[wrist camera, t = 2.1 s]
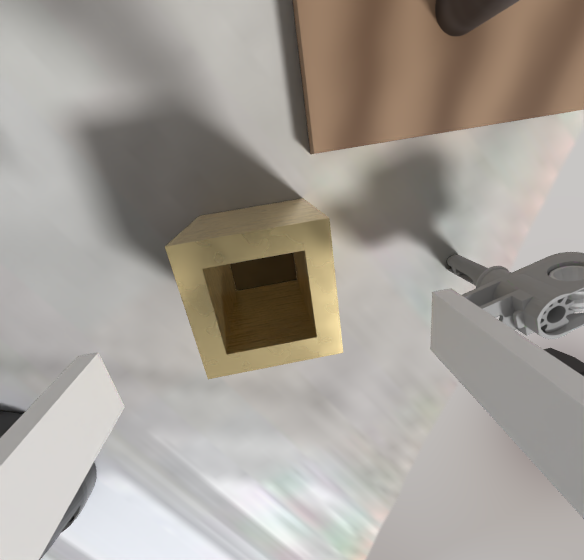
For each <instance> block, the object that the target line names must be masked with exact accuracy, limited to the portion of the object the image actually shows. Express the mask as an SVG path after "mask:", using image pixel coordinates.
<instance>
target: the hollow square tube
mask: <svg viewBox="0 0 584 560" xmlns="http://www.w3.org/2000/svg"><path fill="white" fill-rule="evenodd" d="M165 249H166V252H167V255H168V258H169V261H170V264H171V267H172V270H173V273H174V276H175V279H176V283H177V286H178V289H179V292H180V295H181V298H182V301H183V304H184V307H185V310H186V313H187V316H188V319H189V322H190V325H191V328H192V331H193V335H194V338H195V341H196V344H197V347H198V350H199V353H200V356H201V359H202V362H203V365H204V368H205V371H206V374H207V377H208V379H212V378H217V377H222V376H227V375H232V374H237V373H242V372H247V371H252V370H257V369H262V368H268V367H273V366H278V365H283V364H288V363H293V362H298V361H303V360H308V359H313V358H319V357H324V356H329V355H334V354H339V353H343V347H342V337H341V327H340V318H339V308H338V298H337V288H336V279H335V269H334V259H333V250H332V240H331V230H330V220H329V217H327V216H326V215H325V214H323V213H322V212H321V211H319V210H318V209H317V208H315V207H314V206H313V205H311V204H310V203H309V202H307V201H306V200H305V199H303V198H301V199H295V200H289V201H283V202H278V203H272V204H266V205H260V206H254V207H248V208H242V209H237V210H231V211H225V212H219V213H213V214H207V215H201V216H198V217H197V218H196V219H195V220H194V221H193V222H192V223H191V224H190V225H188V226H187V227H186V228H185V229H184V230H183V231H182V232H181V233H179V234H178V235H177V236H176V237H175V238H174V239H173V240H172V241H171V242H169V243H168V244H167V245H166V246H165ZM287 253H293V256H294V263H295V269H296V275H297V280H294V281H288V282H283V283H277V284H272V285H266V286H261V287H255V288H250V289H244V290H239V291H237V290H236V286H235V282H234V278H233V274H232V270H231V266H230V264H231V263H237V262H243V261H248V260H254V259H259V258H265V257H271V256H276V255H282V254H287Z"/></svg>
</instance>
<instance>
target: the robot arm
mask: <svg viewBox="0 0 584 560" xmlns="http://www.w3.org/2000/svg"><path fill="white" fill-rule="evenodd" d="M430 349H431V351H432V352H433V353H434V354H435V355H436V356H437V357H438V358H439V359H440V361H441V362H442V363H443V364H444V365H445V366H446V367H447V368H448V369H449V370H450V372H451V373H452V374H453V375H454V376H455V377H456V378H457V379H458V380H459V382H460V383H461V384H462V385H463V386H464V387H465V388H466V389H467V390H468V391H469V393H470V394H471V395H472V396H473V397H474V398H475V399H476V400H477V401H478V403H479V404H480V405H481V406H482V407H483V408H484V409H485V410H486V411H487V412H488V413H489V415H490V416H491V417H492V418H493V419H494V420H495V421H496V422H497V424H498V425H499V426H500V427H501V428H502V429H503V430H504V431H505V432H506V434H507V435H508V436H509V437H510V438H511V439H512V440H513V441H514V442H515V443H516V445H517V446H518V447H519V448H520V449H521V450H522V451H523V452H524V453H525V455H526V456H527V457H528V458H529V459H530V460H531V461H532V462H533V463H534V464H535V466H536V467H537V468H538V469H539V470H540V471H541V472H542V473H543V474H544V476H545V477H546V478H547V479H548V480H549V481H550V482H551V483H552V484H553V486H555V488H556V489H557V490H558V491H559V492H560V493H561V494H562V495H563V496H564V498H565V499H566V500H567V501H568V502H569V503H570V504H571V505H572V507H573V508H574V509H576V511H577V512H578V513H579V514H580V515H581V516H582V518H583V519H584V363H583V362H581V361H579V360H578V359H576V358H575V357H572V356H570V355H567V354H565V353H562V352H560V351H557V350H554V349H552V348H548V349H542V348H540V347H539V346H537V345H536V344H534V343H533V342H531V341H529V340H528V339H526V338H525V337H524V336H522V335H521V334H519V333H518V332H516V331H515V330H513V329H512V328H510V327H509V326H507V325H506V324H504V323H502V322H501V321H499V320H498V319H496V318H495V317H493V316H492V315H490V314H489V313H487V312H486V311H484V310H483V309H481V308H480V307H478V306H477V305H475V304H474V303H472V302H471V301H469V300H468V299H466V298H465V297H463V296H462V295H460V294H459V293H457V292H456V291H454V290H453V289H445V290H440V291H434V292H432V318H431V347H430ZM124 407H125V406H124V404H123V402H122V400H121V398H120V396H119V394H118V392H117V390H116V388H115V386H114V384H113V382H112V379H111V377H110V375H109V373H108V371H107V369H106V367H105V365H104V363H103V361H102V359H101V357H100V355H99V353H93V354H87V355H82V356H78V357H77V358H76V359H75V360H74V361H73V362H72V363H71V364H70V365H69V366H68V367H67V368H66V369H65V370H64V372H63V373H62V374H61V375H60V376H59V377H58V378H57V379H56V380H55V381H54V382H53V383H52V384H51V385H50V386H49V387H48V388H47V389H46V390H45V392H44V393H43V394H42V395H41V396H40V397H39V398H38V399H37V400H36V401H35V402H34V403H33V404H32V405H31V406H30V407H29V408H28V409H27V411H26V412H25V413H24V414H19V413H13V412H1V411H0V560H40V559H41V558H42V557H43V556H44V554H45V553H46V552H47V551H48V549H49V548H50V547H51V546H52V544H53V543H54V542H55V540H56V539H57V538H58V536H59V535H60V533H61V532H63V531H64V530H65V529H67V528H68V527H69V526H70V525H71V524H72V523H73V521H74V520H75V519H76V518H77V517H78V515H79V514H80V512H81V511H82V509H83V507H84V506H85V504H86V502H87V500H88V498H89V496H90V494H91V492H92V490H93V488H94V485H95V482H96V467H95V463H94V461H95V459H96V457H97V455H98V454H99V452H100V450H101V448H102V446H103V445H104V443H105V441H106V439H107V438H108V436H109V434H110V432H111V430H112V429H113V427H114V425H115V423H116V422H117V420H118V418H119V416H120V414H121V413H122V411H123V409H124Z"/></svg>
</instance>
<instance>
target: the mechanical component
mask: <svg viewBox="0 0 584 560" xmlns="http://www.w3.org/2000/svg"><path fill="white" fill-rule="evenodd" d="M447 263H448V265H449V266H451V267H452V268H451V269H449V271H450V272H452V273H454V274H456V275H457V276H459V277H461V278H463V279H465V280H466V281H468V282H470V283H472V284H474V285H475V286H476V289H474V290H472V291H469V292H467V293H465V294H463V295H462V296H463V297H465V298H466V299H468V300H469V301H471V302H472V303H474V304H475V305H477V306H478V307H480V308H481V309H483V310H484V311H486V312H487V313H489V314H490V315H492V316H493V317H498V316H500V318H499V321H501V322H502V323H504V324H506V325H507V326H509V327H510V328H512V329H513V330H516V329H518V330H519V331H520V332H522V333H523V334H525V335H530V334H532V333H534V332H535V333H537V334H538V335H540V336H542V337H543V338H547V339H556V338H560V337H562V336H565V335H567V334H568V333H570V332H571V331H572V330H574V329H577V328H579V327H581V326H584V313H578V314H575V313H574V312H577V311H584V253H578V252H565V253H558V254H554V255H551V256H549V257H546V258H544V259H542V260H540V261H537V262H535V263H533V264H531V265H529V266H526V267H524V268H521V269H519V270H517V271H515V272H512V273H511V272H509V271H508V270H507V269H506V268H504V267H502V266H494V267H490V268H486V267H484V266H482V265H479V264H477V263H475V262H473V261H471V260H468V259H466V258H464V257H462V256H460V255H452V256H450V257H449V258H448V259H447Z"/></svg>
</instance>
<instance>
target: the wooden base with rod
mask: <svg viewBox="0 0 584 560" xmlns="http://www.w3.org/2000/svg"><path fill="white" fill-rule="evenodd" d="M293 9H294V17H295V26H296V34H297V43H298V51H299V60H300V68H301V77H302V85H303V94H304V102H305V111H306V119H307V128H308V136H309V145H310V153H311V154H315V153H321V152H327V151H333V150H340V149H346V148H352V147H358V146H364V145H370V144H376V143H382V142H388V141H394V140H401V139H407V138H413V137H419V136H425V135H431V134H437V133H443V132H449V131H455V130H462V129H468V128H474V127H480V126H486V125H492V124H498V123H504V122H510V121H517V120H523V119H529V118H535V117H541V116H547V115H553V114H559V113H565V112H571V111H577V110H583V109H584V0H293Z"/></svg>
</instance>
